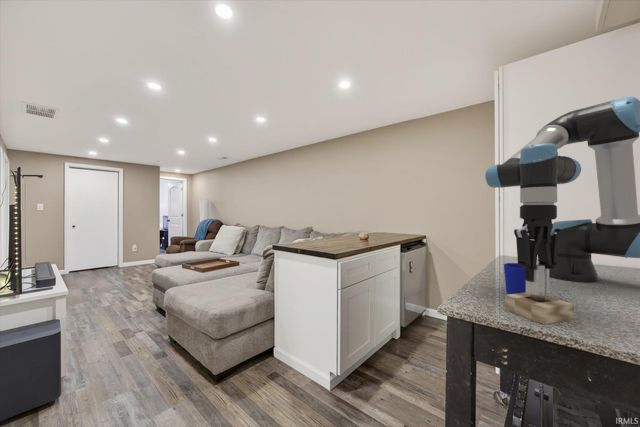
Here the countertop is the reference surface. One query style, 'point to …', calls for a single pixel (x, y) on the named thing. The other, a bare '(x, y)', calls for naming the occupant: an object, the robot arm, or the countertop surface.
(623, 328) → the countertop surface
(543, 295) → the peg
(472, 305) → the countertop surface
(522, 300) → the hole block
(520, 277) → the mug
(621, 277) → the countertop surface
